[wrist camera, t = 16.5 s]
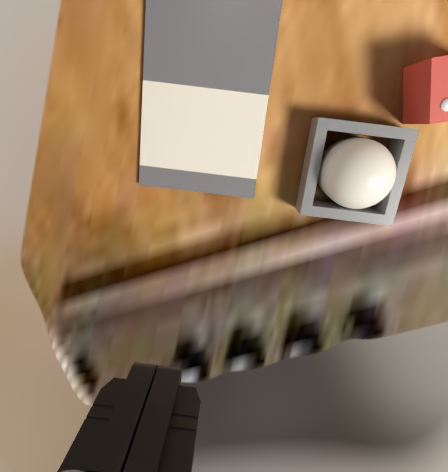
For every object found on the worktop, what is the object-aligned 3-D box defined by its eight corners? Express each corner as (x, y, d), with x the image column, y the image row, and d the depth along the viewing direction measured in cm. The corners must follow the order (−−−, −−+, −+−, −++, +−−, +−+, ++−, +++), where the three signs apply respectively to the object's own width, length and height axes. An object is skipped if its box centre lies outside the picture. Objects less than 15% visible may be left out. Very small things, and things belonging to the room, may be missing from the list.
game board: (303, -147, 28) (304, -151, 27) (253, 197, 36) (253, 198, 36) (153, -165, 28) (152, -169, 27) (140, 183, 36) (138, 184, 36)
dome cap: (387, 141, 34) (419, 144, 28) (371, 204, 36) (397, 220, 30) (322, 133, 34) (340, 135, 28) (309, 196, 36) (324, 211, 30)
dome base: (404, 128, 34) (419, 129, 31) (380, 218, 36) (392, 225, 34) (311, 117, 34) (318, 117, 31) (295, 207, 36) (300, 214, 34)
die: (459, 58, 31) (499, 46, 27) (456, 115, 33) (494, 114, 28) (403, 67, 32) (432, 57, 27) (402, 123, 33) (430, 124, 29)
